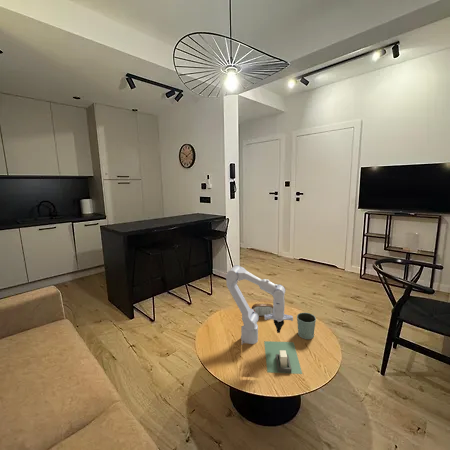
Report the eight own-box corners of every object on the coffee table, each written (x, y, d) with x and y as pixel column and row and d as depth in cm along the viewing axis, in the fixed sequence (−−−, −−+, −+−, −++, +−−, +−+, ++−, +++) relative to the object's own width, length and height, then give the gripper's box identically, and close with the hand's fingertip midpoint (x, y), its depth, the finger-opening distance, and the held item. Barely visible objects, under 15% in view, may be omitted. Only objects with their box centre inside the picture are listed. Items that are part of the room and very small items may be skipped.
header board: (267, 374, 115) (267, 368, 114) (264, 342, 136) (264, 338, 136) (302, 375, 113) (302, 370, 113) (293, 343, 135) (293, 338, 134)
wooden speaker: (274, 314, 164) (274, 302, 162) (274, 317, 161) (274, 305, 159) (251, 314, 164) (251, 303, 163) (251, 317, 161) (251, 305, 160)
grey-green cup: (318, 335, 141) (319, 316, 138) (309, 344, 134) (310, 324, 131) (301, 328, 148) (302, 310, 145) (293, 336, 141) (293, 317, 139)
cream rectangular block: (280, 367, 117) (280, 356, 116) (279, 359, 122) (279, 349, 121) (287, 368, 117) (287, 357, 116) (285, 359, 122) (285, 349, 121)
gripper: (265, 312, 125) (264, 335, 127) (294, 313, 123) (293, 337, 126) (264, 305, 132) (264, 327, 134) (292, 305, 130) (291, 328, 133)
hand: (278, 331), depth 131 cm, fingers closed
